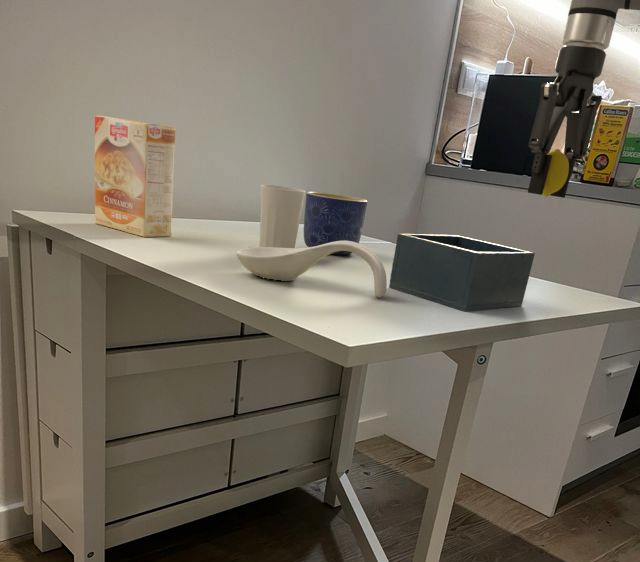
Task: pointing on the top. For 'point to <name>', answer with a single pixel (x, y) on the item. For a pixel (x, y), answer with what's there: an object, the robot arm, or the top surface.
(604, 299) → the top surface
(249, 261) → the spoon rest
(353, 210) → the planter
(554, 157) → the lemon
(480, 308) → the dark grey open box
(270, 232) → the cup
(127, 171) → the coffeecake box
